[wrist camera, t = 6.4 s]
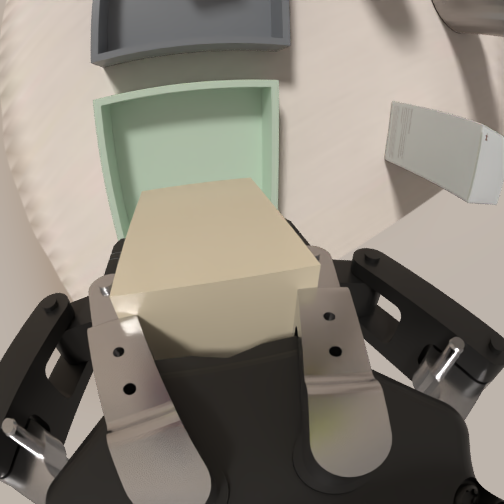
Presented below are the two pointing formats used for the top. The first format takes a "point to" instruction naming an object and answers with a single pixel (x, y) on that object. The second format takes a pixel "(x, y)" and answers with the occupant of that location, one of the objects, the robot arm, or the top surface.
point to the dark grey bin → (185, 27)
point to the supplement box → (447, 151)
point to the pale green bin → (187, 139)
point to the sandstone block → (211, 269)
